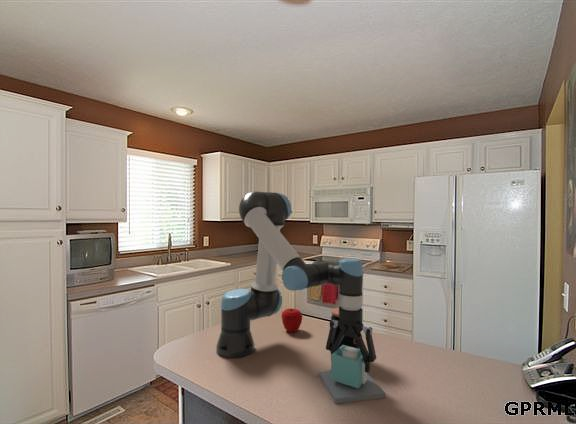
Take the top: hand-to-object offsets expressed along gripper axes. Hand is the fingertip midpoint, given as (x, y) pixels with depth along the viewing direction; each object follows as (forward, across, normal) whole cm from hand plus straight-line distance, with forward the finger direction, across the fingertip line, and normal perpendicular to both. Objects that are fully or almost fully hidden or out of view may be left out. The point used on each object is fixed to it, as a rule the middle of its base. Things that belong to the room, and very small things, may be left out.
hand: (349, 376), depth 100 cm
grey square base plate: (+3, 0, 0) cm, 3 cm away
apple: (+3, +41, -30) cm, 51 cm away
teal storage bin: (0, 0, 0) cm, 0 cm away
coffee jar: (+3, +9, -18) cm, 20 cm away
